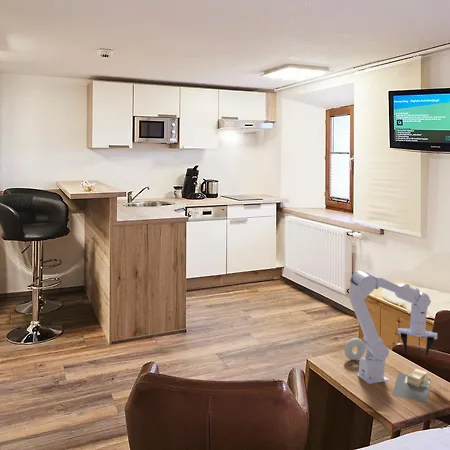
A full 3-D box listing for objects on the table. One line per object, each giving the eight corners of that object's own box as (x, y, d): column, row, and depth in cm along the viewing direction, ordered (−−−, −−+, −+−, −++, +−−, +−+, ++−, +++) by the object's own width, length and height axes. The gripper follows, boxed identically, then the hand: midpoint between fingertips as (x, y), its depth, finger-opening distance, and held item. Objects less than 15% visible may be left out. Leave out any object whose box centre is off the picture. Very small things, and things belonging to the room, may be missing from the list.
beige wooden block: (418, 387, 182) (419, 379, 181) (406, 383, 185) (407, 375, 184) (426, 380, 187) (427, 372, 187) (415, 376, 191) (416, 368, 190)
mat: (427, 403, 171) (427, 402, 171) (392, 396, 176) (392, 394, 176) (430, 380, 189) (430, 378, 189) (398, 373, 194) (398, 372, 194)
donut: (361, 357, 210) (363, 335, 208) (366, 360, 207) (367, 338, 205) (342, 359, 207) (343, 338, 205) (346, 363, 204) (347, 341, 202)
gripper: (398, 321, 188) (396, 354, 190) (438, 326, 183) (436, 359, 185) (399, 316, 195) (397, 347, 197) (437, 320, 190) (435, 352, 192)
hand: (416, 353), depth 191 cm, fingers open, 7 cm apart
